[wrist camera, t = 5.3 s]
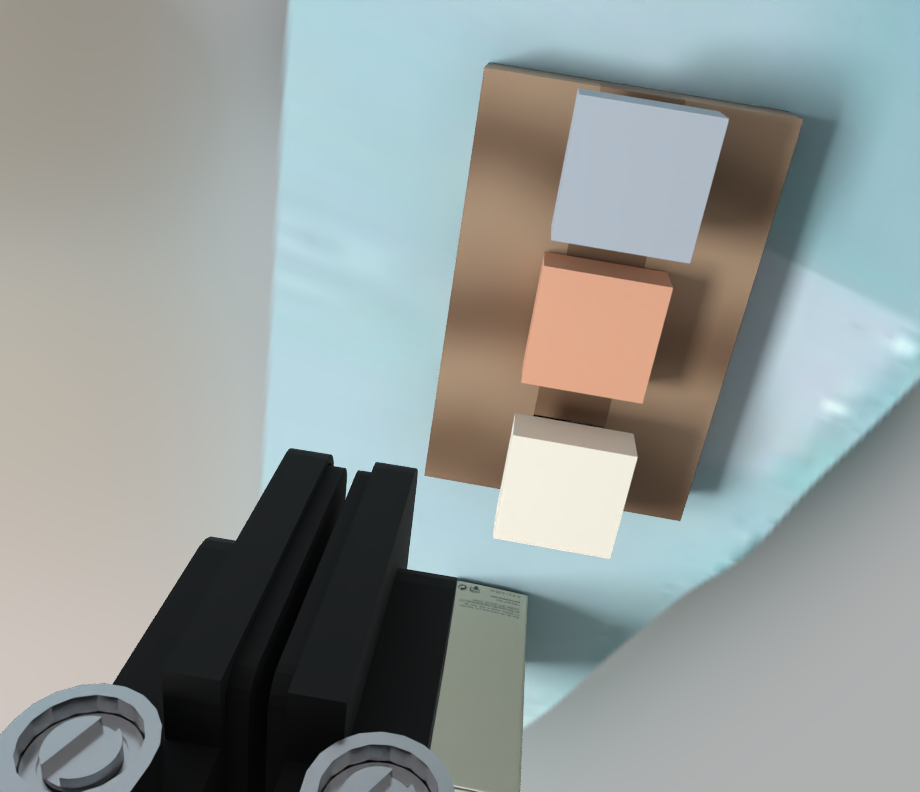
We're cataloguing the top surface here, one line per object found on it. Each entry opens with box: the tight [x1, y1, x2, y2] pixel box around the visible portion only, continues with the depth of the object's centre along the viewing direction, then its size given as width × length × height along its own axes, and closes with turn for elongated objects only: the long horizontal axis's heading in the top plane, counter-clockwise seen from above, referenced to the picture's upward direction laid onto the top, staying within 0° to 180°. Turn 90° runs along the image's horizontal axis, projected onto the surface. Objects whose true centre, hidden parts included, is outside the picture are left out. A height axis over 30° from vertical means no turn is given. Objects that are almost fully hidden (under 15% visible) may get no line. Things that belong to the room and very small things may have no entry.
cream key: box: [493, 413, 638, 559], centre depth 37 cm, size 5×5×4 cm
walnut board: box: [424, 63, 803, 521], centre depth 37 cm, size 18×12×2 cm, turn 172°
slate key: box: [551, 88, 729, 264], centre depth 32 cm, size 5×5×4 cm
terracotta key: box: [521, 252, 673, 404], centre depth 36 cm, size 5×5×4 cm
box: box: [430, 581, 528, 792], centre depth 41 cm, size 5×4×13 cm
